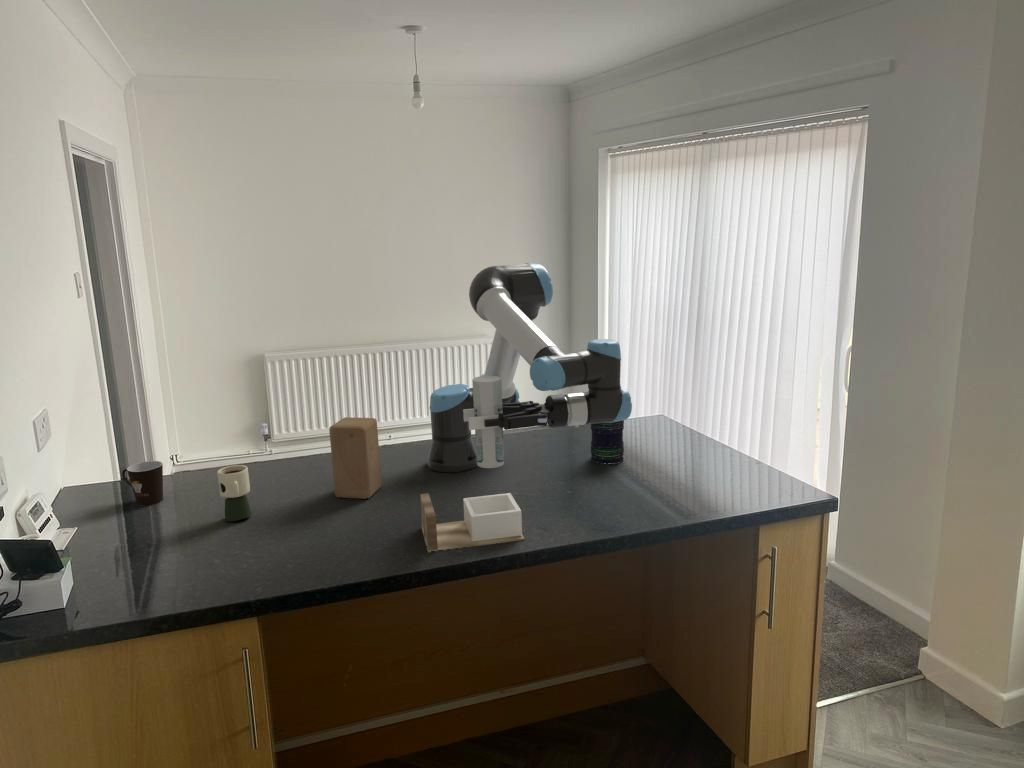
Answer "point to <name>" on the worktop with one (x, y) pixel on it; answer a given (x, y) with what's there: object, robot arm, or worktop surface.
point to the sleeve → (492, 517)
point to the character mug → (235, 491)
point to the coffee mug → (146, 481)
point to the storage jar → (607, 442)
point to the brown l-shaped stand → (449, 531)
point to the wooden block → (355, 457)
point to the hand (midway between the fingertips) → (466, 419)
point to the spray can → (486, 404)
